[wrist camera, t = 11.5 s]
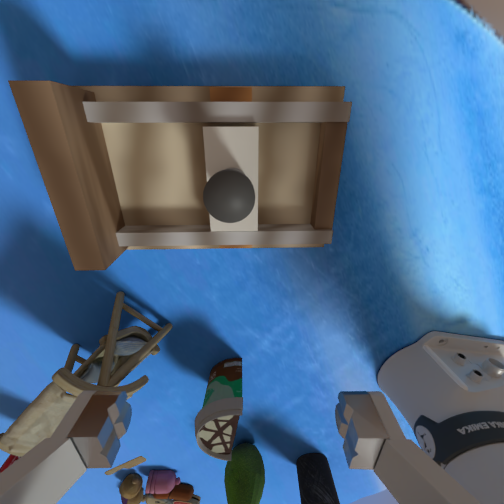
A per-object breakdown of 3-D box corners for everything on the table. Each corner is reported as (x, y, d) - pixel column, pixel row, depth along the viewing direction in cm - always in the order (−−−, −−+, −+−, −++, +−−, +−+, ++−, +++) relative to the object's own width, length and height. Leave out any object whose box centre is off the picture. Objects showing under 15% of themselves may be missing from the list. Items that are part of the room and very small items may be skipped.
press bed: (338, 89, 26) (374, 73, 19) (319, 240, 33) (340, 270, 26) (73, 89, 25) (5, 72, 18) (113, 243, 33) (76, 274, 26)
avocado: (219, 444, 53) (212, 524, 42) (248, 430, 51) (249, 510, 40) (241, 460, 56) (241, 538, 45) (270, 447, 54) (277, 526, 43)
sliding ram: (257, 127, 25) (262, 125, 17) (256, 221, 30) (260, 256, 21) (207, 127, 25) (189, 125, 17) (213, 222, 29) (202, 256, 21)
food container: (206, 347, 41) (195, 408, 32) (243, 351, 42) (242, 412, 33) (200, 396, 46) (189, 460, 37) (233, 399, 47) (230, 462, 38)
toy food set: (97, 472, 58) (87, 495, 54) (149, 448, 54) (142, 471, 51) (172, 512, 68) (168, 534, 64) (221, 494, 64) (220, 516, 60)
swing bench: (122, 372, 43) (68, 479, 30) (70, 343, 40) (-17, 449, 27) (175, 324, 39) (139, 423, 26) (121, 288, 36) (48, 380, 23)
